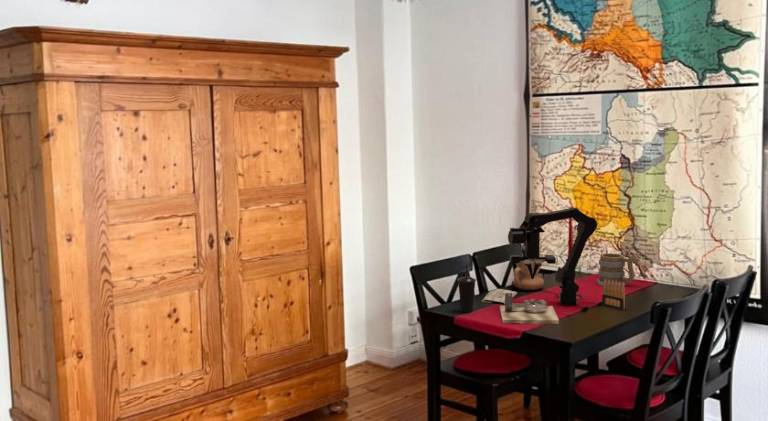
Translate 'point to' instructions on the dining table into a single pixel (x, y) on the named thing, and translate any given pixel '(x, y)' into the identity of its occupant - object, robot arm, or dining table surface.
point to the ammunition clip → (614, 295)
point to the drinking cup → (466, 292)
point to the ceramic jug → (527, 277)
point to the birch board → (529, 316)
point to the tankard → (615, 268)
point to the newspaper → (497, 296)
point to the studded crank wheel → (525, 304)
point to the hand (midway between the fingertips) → (532, 278)
